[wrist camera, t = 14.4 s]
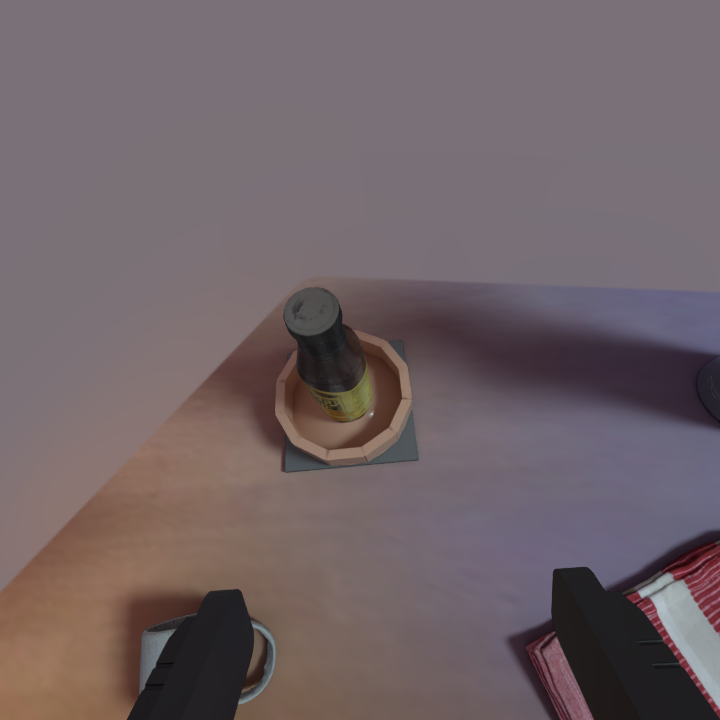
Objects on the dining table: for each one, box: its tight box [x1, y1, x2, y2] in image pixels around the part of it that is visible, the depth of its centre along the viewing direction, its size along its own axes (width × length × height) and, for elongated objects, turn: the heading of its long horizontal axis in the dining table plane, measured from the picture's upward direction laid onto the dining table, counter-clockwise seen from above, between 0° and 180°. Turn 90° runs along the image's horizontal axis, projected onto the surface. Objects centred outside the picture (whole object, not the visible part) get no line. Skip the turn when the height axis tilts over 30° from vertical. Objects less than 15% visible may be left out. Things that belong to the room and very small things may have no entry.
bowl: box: [275, 329, 412, 466], centre depth 42 cm, size 15×15×4 cm
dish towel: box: [526, 541, 720, 720], centre depth 29 cm, size 17×23×3 cm
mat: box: [285, 340, 419, 473], centre depth 44 cm, size 15×15×1 cm
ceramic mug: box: [139, 613, 276, 705], centre depth 32 cm, size 11×8×8 cm
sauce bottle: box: [284, 287, 372, 423], centre depth 34 cm, size 7×6×20 cm
